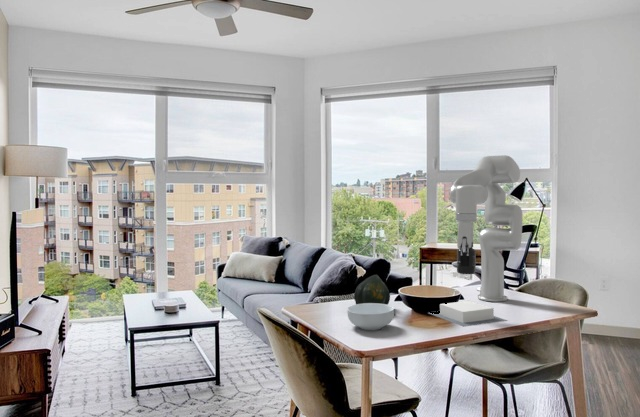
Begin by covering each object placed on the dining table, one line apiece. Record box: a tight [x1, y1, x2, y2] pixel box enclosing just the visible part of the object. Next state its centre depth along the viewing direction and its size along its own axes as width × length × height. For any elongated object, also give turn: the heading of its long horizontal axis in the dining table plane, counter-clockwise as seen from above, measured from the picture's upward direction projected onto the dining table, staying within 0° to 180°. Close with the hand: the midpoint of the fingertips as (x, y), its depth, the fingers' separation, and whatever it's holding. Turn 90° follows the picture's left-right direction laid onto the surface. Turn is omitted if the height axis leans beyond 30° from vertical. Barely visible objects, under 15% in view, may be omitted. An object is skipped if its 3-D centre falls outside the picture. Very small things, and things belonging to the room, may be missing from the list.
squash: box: [353, 274, 391, 305], centre depth 209 cm, size 14×15×15 cm
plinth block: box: [439, 300, 495, 323], centre depth 194 cm, size 14×14×4 cm
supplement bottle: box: [456, 241, 477, 275], centre depth 194 cm, size 7×7×12 cm
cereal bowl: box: [346, 303, 395, 331], centre depth 183 cm, size 17×17×7 cm
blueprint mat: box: [428, 312, 508, 327], centre depth 195 cm, size 22×20×1 cm
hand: (466, 264), depth 194 cm, fingers closed on supplement bottle, 6 cm apart
